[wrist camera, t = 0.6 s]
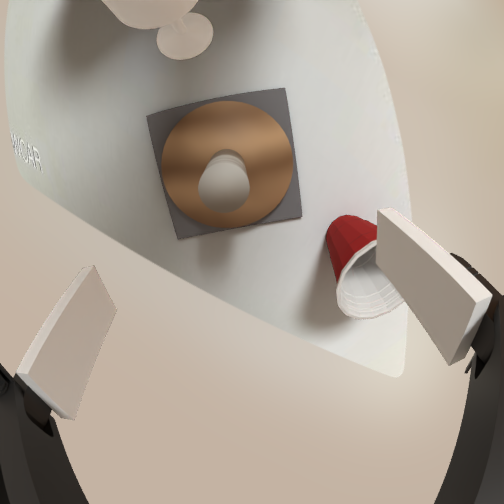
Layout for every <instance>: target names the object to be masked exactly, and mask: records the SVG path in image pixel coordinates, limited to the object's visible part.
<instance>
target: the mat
mask: <svg viewBox="0 0 504 504" xmlns="http://www.w3.org/2000/svg"><path fill="white" fill-rule="evenodd" d="M219 101H236V102H243V103H246V104H250V105H252V106H255V107H257V108H259V109H261V110H263V111H264V112H266V113H267V114H268V115H270V116H271V117H272V118H273V119H274V120H275V121H276V122H277V123H278V124H279V125H280V127H281V128H282V129H283V131H284V132H285V134H286V136H287V138H288V140H289V143H290V146H291V150H292V155H293V173H292V178H291V182H290V185H289V187H288V190H287V192H286V194H285V196H284V197H283V198H282V200H281V201H280V203H279V204H278V205H277V206H276V207H275V208H274V209H273V210H272V211H271V212H270V213H269V214H267V215H266V216H264V217H263V218H261V219H259V220H258V221H256V222H253V223H251V224H248V225H245V226H250V225H256V224H262V223H267V222H273V221H279V220H285V219H291V218H297V217H302V207H301V198H300V189H299V180H298V172H297V164H296V157H295V149H294V142H293V135H292V128H291V122H290V115H289V109H288V103H287V97H286V91H285V88H279V89H270V90H262V91H255V92H248V93H242V94H236V95H230V96H225V97H219V98H214V99H210V100H205V101H200V102H196V103H192V104H188V105H184V106H180V107H176V108H172V109H168V110H165V111H161V112H158V113H154V114H151V115H148V116H146V117H147V122H148V126H149V131H150V135H151V140H152V144H153V148H154V153H155V157H156V161H157V165H158V169H159V173H160V177H161V181H162V184H163V188H164V192H165V196H166V199H167V203H168V207H169V210H170V214H171V217H172V221H173V224H174V227H175V231H176V234H177V238H178V239H181V238H187V237H192V236H197V235H202V234H207V233H213V232H218V231H223V230H229V229H234V228H239V227H234V228H219V227H212V226H208V225H205V224H202V223H200V222H198V221H196V220H194V219H192V218H190V217H189V216H187V215H186V214H185V213H184V212H182V211H181V210H180V209H179V208H178V207H177V205H176V204H175V203H174V202H173V200H172V199H171V197H170V196H169V194H168V192H167V190H166V188H165V184H164V181H163V177H162V169H161V161H162V153H163V149H164V146H165V143H166V140H167V138H168V136H169V135H170V133H171V131H172V130H173V128H174V127H175V126H176V124H177V123H178V122H179V121H180V120H181V119H182V118H183V117H185V116H186V115H187V114H188V113H190V112H191V111H193V110H195V109H197V108H199V107H201V106H203V105H206V104H209V103H213V102H219ZM245 226H241V227H245Z"/></svg>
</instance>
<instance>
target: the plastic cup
mask: <svg viewBox="0 0 504 504" xmlns="http://www.w3.org/2000/svg"><path fill="white" fill-rule="evenodd" d="M326 240H327V246H328V249H329V253H330V258H331V262H332V265H333V269H334V272H335V276H336V281H337V286H336V294H337V304H338V306H339V308H340V309H341V310H342V311H343V313H344V314H345V315H346V316H349V317H352V318H355V319H358V320H360V319H374V318H376V317H379V316H381V315H384V314H387V313H389V312H391V311H392V310H393V309H395V308H396V307H398V306H399V305H400V304H402V303H403V302H404V299H403V298H402V296H401V295H400V294H399V292H398V291H397V290H396V288H395V287H394V286H393V285H392V283H391V282H390V281H389V279H388V278H387V277H386V275H385V274H384V273H383V272H382V270H381V269H380V268H379V267H378V265H377V264H376V246H377V226H376V225H374V224H372V223H370V222H369V221H367V220H363V219H361V218H359V217H357V216H351V215H344V216H341V217H338V218H337V219H336V220H334V221H333V222H332V223H331V225H330V226H329V228H328V231H327V235H326Z"/></svg>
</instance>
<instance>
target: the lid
mask: <svg viewBox="0 0 504 504" xmlns="http://www.w3.org/2000/svg"><path fill="white" fill-rule="evenodd" d="M161 169H162V177H163V181H164V184H165V188H166V190H167V192H168V194H169V196H170V197H171V199H172V200H173V202H174V203H175V204H176V205H177V207H178V208H179V209H180V210H181V211H182V212H184V213H185V214H186V215H187V216H189V217H190V218H192V219H194V220H196V221H198V222H200V223H202V224H205V225H208V226H212V227H219V228H234V227H241V226H245V225H248V224H251V223H253V222H256V221H258V220H259V219H261V218H263V217H264V216H266V215H267V214H269V213H270V212H271V211H272V210H273V209H274V208H275V207H276V206H277V205H278V204H279V203H280V201H281V200H282V198H283V197H284V196H285V194H286V192H287V190H288V187H289V185H290V182H291V178H292V173H293V155H292V150H291V146H290V143H289V140H288V138H287V136H286V134H285V132H284V131H283V129H282V128H281V127H280V125H279V124H278V123H277V122H276V121H275V120H274V119H273V118H272V117H271V116H270V115H268V114H267V113H266V112H264V111H263V110H261V109H259V108H257V107H255V106H252V105H250V104H246V103H243V102H236V101H219V102H213V103H209V104H206V105H203V106H201V107H199V108H197V109H195V110H193V111H191V112H190V113H188V114H187V115H186V116H185V117H183V118H182V119H181V120H180V121H179V122H178V123H177V124H176V126H175V127H174V128H173V130H172V131H171V133H170V135H169V136H168V138H167V140H166V143H165V146H164V149H163V153H162V161H161Z"/></svg>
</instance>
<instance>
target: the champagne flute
mask: <svg viewBox="0 0 504 504" xmlns="http://www.w3.org/2000/svg"><path fill="white" fill-rule="evenodd" d="M102 1H103V3H104V4H105V5H106V6H107V7H108V8H109V9H110V10H111V11H112V12H113V13H114V15H115V16H116V17H117V18H118V19H119V20H120V21H121V22H122V23H123V24H125V25H127V26H129V27H133V28H137V29H155V28H159V27H160V29H159V31H158V33H157V46H158V48H159V50H160V51H161V52H162V53H163V54H164V55H165V56H167V57H169V58H172V59H176V60H185V59H190V58H193V57H195V56H197V55H199V54H201V53H202V52H203V51H205V49H206V48H207V47H208V46H209V45H210V43H211V41H212V38H213V27H212V24H211V23H210V21H209V20H208V19H207V18H206V17H205V16H203V15H201V14H198V13H193V12H189V11H190V10H191V9H192V8H193V7H194V6H195V4H196V3H197V2H198V0H102Z"/></svg>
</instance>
